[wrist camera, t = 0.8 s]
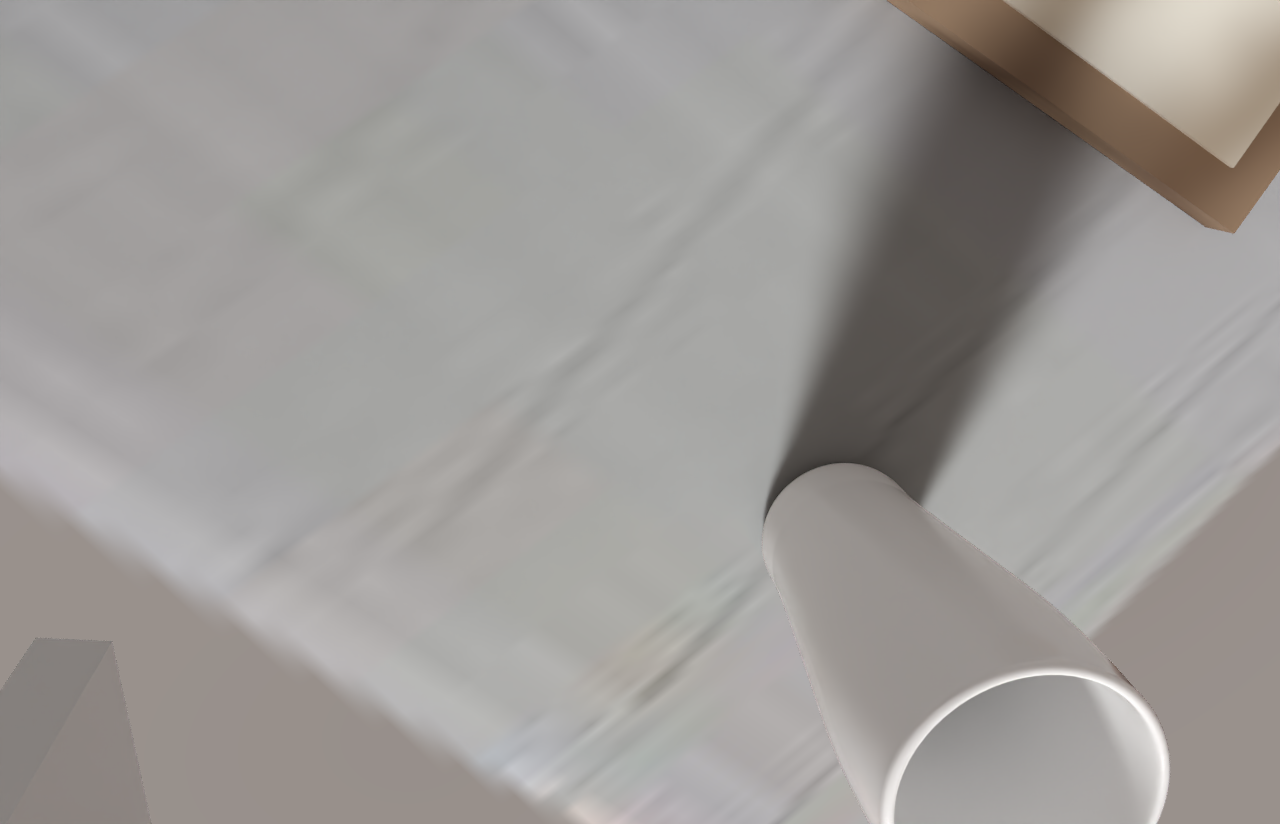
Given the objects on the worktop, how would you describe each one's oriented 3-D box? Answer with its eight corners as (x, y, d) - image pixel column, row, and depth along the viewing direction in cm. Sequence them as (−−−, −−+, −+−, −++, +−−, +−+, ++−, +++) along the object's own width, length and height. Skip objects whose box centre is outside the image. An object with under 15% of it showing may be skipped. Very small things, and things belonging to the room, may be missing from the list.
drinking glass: (857, 396, 37) (1081, 599, 23) (964, 538, 39) (1230, 806, 25) (697, 520, 38) (818, 793, 24) (810, 654, 40) (984, 979, 26)
